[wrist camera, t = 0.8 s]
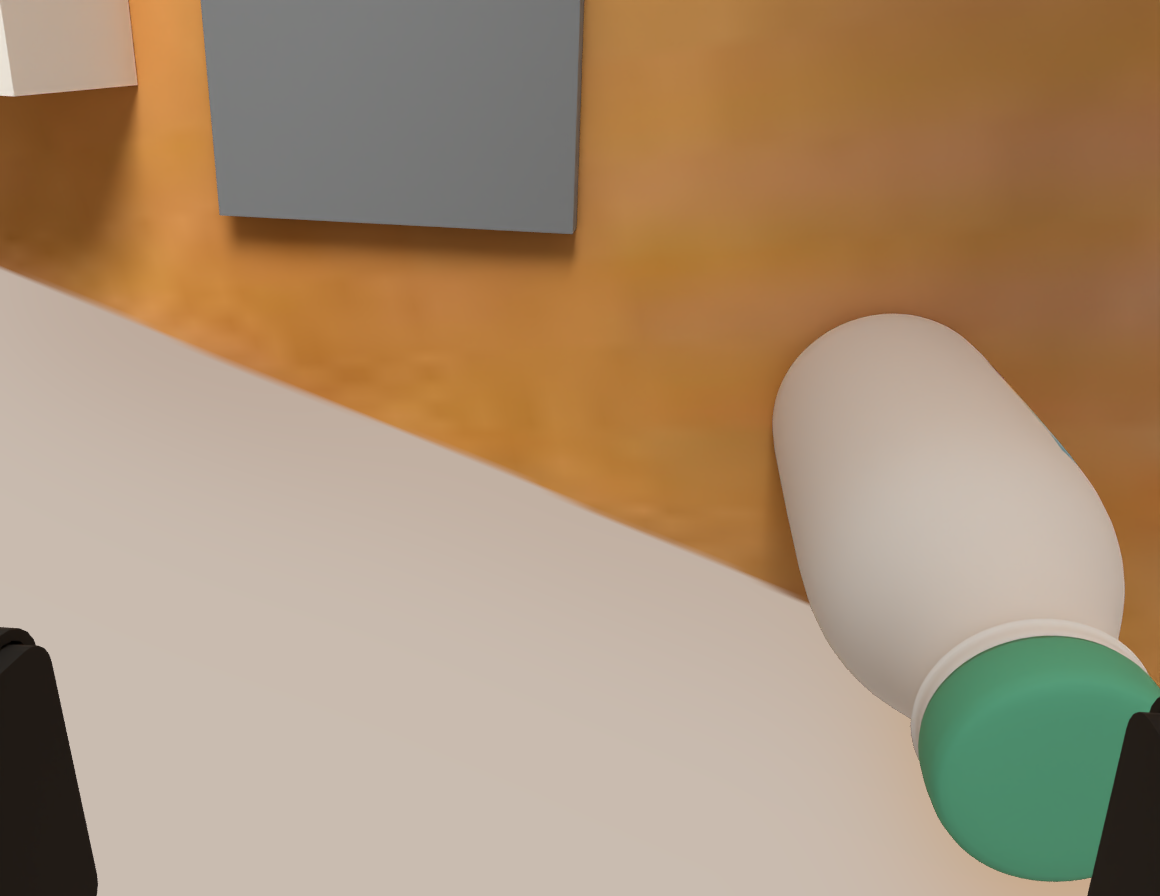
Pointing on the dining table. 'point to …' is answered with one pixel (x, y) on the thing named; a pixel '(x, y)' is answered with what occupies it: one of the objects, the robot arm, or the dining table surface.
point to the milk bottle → (964, 583)
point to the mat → (397, 111)
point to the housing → (65, 46)
